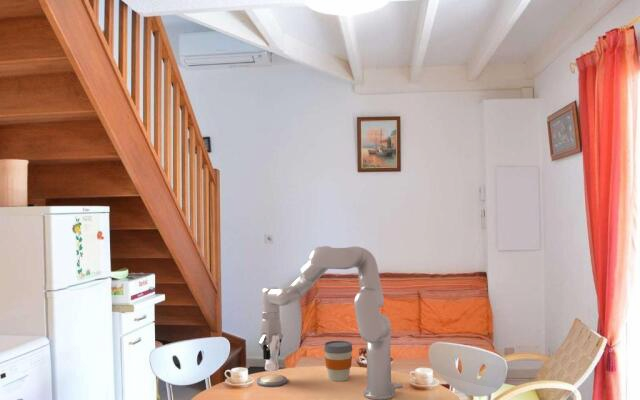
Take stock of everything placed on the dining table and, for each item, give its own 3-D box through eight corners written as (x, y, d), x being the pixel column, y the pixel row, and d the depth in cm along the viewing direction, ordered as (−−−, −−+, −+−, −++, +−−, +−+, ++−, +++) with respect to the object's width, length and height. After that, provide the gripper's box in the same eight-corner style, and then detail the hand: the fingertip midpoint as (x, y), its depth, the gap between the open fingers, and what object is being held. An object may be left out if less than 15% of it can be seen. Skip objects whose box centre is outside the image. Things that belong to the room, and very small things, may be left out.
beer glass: (277, 371, 211) (276, 335, 212) (261, 371, 212) (261, 335, 213) (281, 367, 218) (281, 332, 219) (266, 366, 219) (266, 332, 220)
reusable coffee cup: (321, 381, 214) (320, 346, 215) (329, 373, 226) (328, 339, 227) (349, 383, 211) (348, 347, 212) (355, 374, 223) (355, 341, 224)
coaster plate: (283, 376, 223) (283, 372, 223) (290, 384, 211) (289, 381, 211) (254, 379, 219) (254, 375, 219) (259, 388, 207) (259, 384, 207)
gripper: (275, 312, 226) (276, 351, 225) (251, 318, 211) (252, 361, 210) (289, 313, 222) (290, 353, 221) (265, 319, 207) (266, 363, 206)
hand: (271, 357), depth 215 cm, fingers closed on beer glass, 6 cm apart
